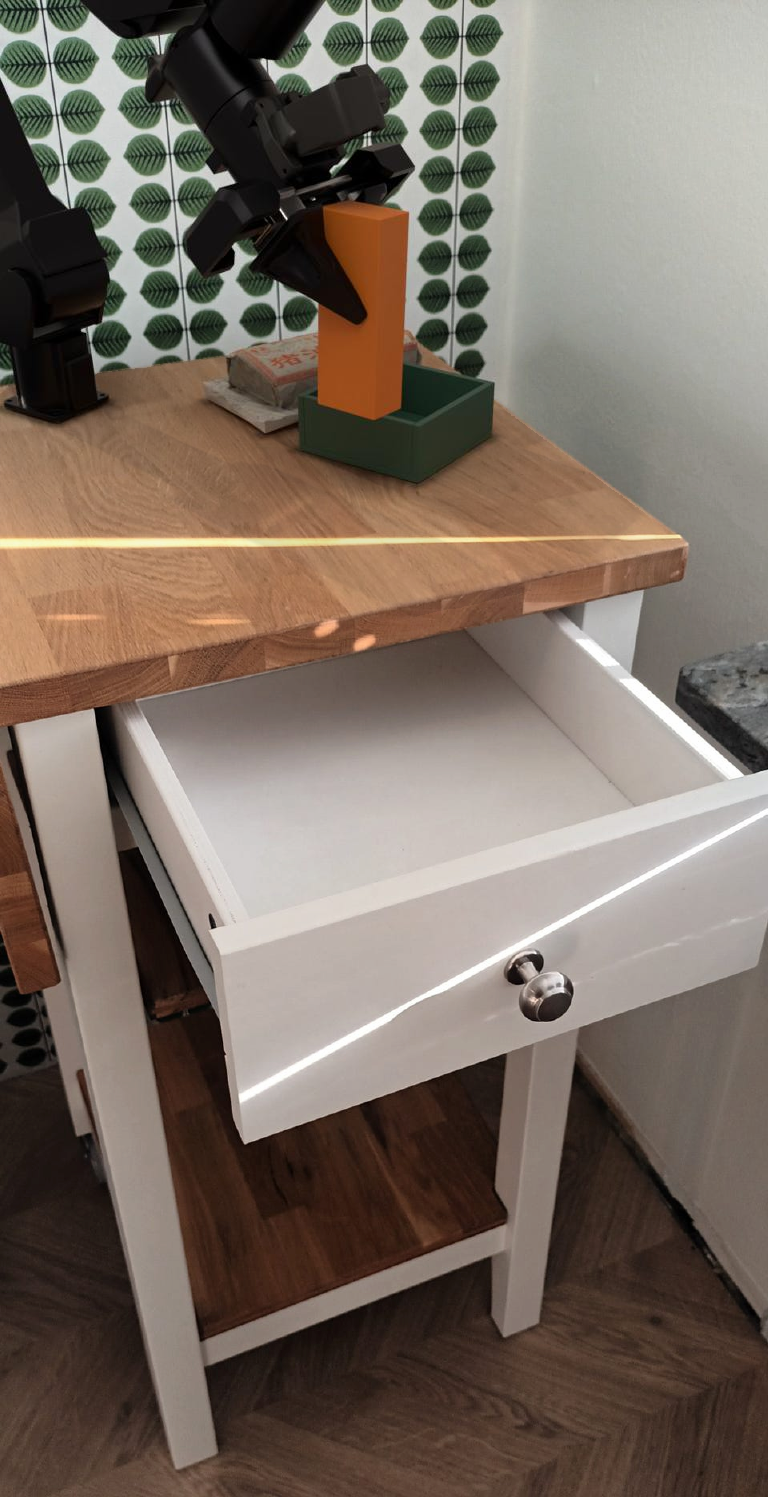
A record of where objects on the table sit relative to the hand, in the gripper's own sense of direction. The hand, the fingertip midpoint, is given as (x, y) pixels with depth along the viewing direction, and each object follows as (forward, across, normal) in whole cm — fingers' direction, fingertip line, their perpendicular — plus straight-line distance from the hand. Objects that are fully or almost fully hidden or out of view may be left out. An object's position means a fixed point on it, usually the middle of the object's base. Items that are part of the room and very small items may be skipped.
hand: (377, 314), depth 83 cm
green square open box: (+6, +10, +13) cm, 18 cm away
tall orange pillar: (+4, 0, +6) cm, 7 cm away
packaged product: (-2, +15, +21) cm, 26 cm away
